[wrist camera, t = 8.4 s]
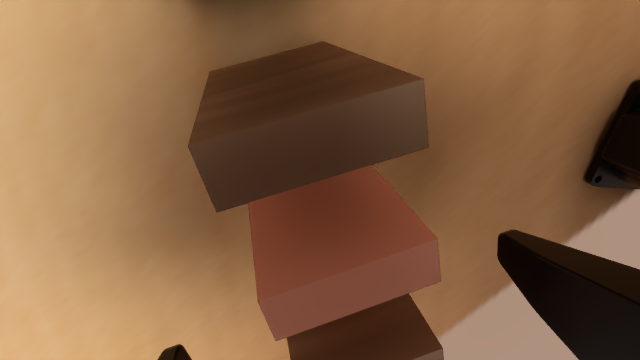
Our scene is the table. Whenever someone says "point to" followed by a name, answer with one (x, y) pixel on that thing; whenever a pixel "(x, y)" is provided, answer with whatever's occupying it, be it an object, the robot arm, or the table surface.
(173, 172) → the table surface
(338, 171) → the domino
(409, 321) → the domino
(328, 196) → the domino
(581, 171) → the table surface
